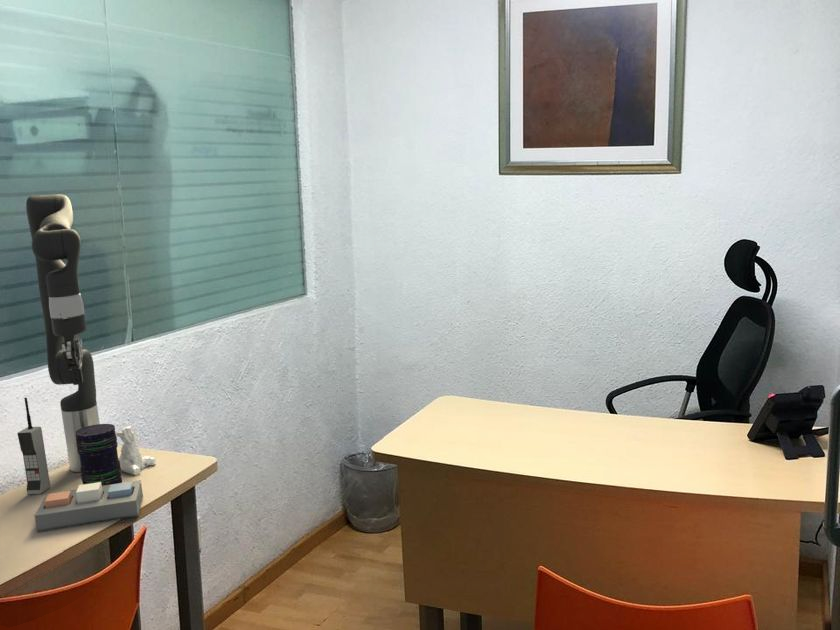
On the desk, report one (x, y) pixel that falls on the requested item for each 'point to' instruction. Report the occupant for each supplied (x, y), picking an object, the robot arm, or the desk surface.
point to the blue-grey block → (120, 490)
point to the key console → (89, 510)
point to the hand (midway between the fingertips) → (78, 383)
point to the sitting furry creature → (132, 453)
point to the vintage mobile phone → (34, 457)
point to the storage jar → (98, 454)
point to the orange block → (58, 499)
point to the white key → (89, 492)
